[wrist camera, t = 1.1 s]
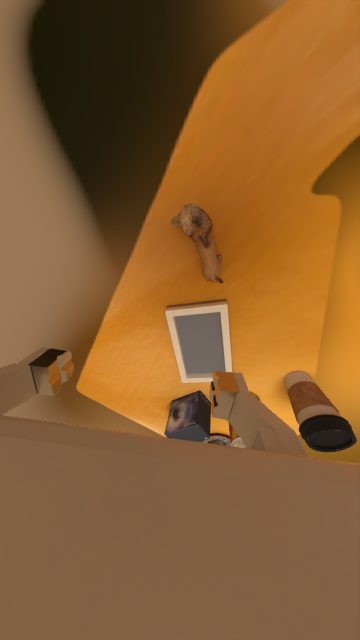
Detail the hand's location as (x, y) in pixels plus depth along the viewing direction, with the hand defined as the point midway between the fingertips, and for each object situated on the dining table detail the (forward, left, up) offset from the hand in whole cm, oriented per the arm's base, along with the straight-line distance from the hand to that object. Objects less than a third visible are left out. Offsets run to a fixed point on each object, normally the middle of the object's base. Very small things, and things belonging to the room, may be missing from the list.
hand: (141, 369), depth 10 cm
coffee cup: (-22, +32, -30) cm, 49 cm away
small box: (+6, +40, -30) cm, 50 cm away
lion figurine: (-3, -3, -30) cm, 30 cm away
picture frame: (0, +19, -30) cm, 35 cm away
